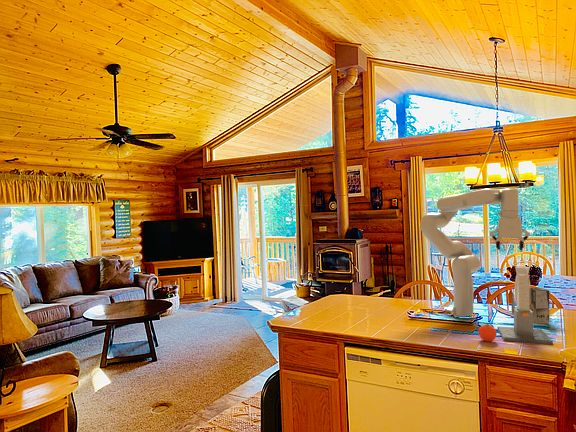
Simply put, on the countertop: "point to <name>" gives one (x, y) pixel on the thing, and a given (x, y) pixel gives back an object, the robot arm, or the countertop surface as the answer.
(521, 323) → the stand
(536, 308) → the coffee box
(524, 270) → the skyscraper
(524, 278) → the column
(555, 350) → the countertop surface
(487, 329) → the clementine
